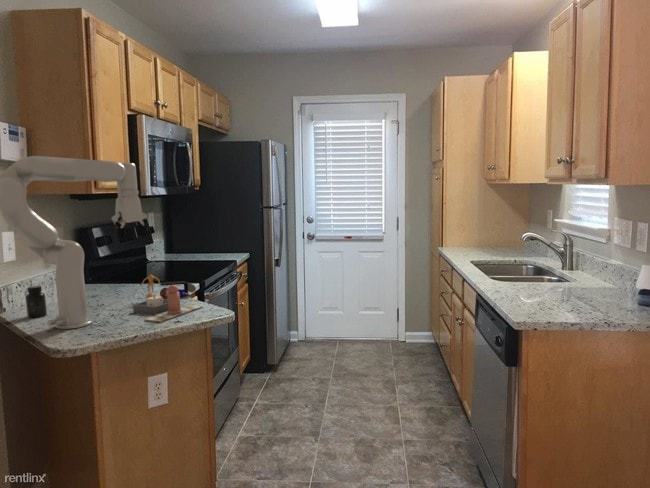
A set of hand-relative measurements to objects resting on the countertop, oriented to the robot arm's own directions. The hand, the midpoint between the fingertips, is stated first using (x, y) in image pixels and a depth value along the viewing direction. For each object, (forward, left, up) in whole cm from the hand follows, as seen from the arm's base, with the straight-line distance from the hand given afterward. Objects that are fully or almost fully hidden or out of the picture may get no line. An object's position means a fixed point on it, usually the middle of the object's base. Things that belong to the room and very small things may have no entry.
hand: (131, 236), depth 211 cm
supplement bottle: (-21, +33, -31) cm, 50 cm away
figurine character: (+25, +1, -31) cm, 40 cm away
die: (+3, -7, -30) cm, 31 cm away
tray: (+3, -7, -30) cm, 31 cm away
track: (0, -20, -30) cm, 36 cm away
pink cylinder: (0, -20, -30) cm, 36 cm away
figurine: (+14, +6, -31) cm, 34 cm away
